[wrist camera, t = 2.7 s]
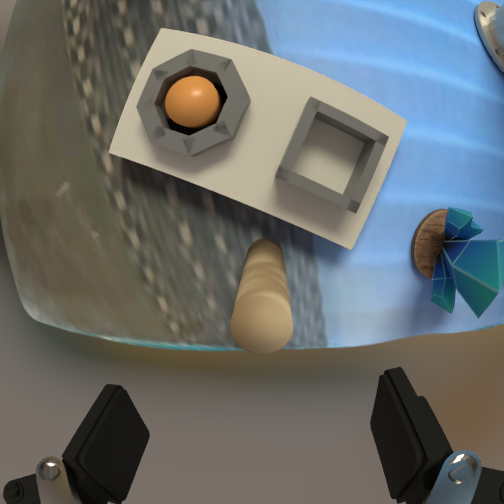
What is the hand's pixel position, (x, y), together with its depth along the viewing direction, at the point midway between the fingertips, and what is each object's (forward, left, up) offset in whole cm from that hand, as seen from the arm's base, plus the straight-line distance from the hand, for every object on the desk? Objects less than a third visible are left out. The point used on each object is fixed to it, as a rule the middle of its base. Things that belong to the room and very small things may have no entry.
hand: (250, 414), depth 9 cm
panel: (+5, -10, -18) cm, 21 cm away
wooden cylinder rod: (0, 0, -18) cm, 18 cm away
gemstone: (-16, -8, -18) cm, 25 cm away
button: (+10, -10, -16) cm, 21 cm away
